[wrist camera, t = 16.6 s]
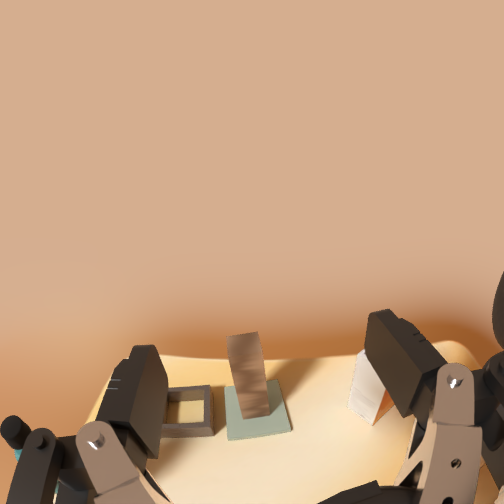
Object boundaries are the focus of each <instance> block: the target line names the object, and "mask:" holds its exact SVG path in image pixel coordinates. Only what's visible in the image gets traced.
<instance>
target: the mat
mask: <svg viewBox="0 0 504 504" xmlns="http://www.w3.org/2000/svg"><path fill="white" fill-rule="evenodd" d="M266 385H267V394H268V402H269V411H270V416H264V417H258V418H252V419H245V420H243V418H242V414H241V410H240V406H239V402H238V397H237V393H236V389H235V386H229V387H224V392H225V408H226V423H227V437H228V441H231V440H240V439H248V438H255V437H262V436H269V435H275V434H280V433H285V432H291V428H290V424H289V420H288V416H287V413H286V409H285V405H284V401H283V398H282V394H281V390H280V386H279V383H278V379H276V380H270V381H266Z"/></svg>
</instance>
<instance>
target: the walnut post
mask: <svg viewBox="0 0 504 504" xmlns="http://www.w3.org/2000/svg"><path fill="white" fill-rule="evenodd" d="M226 338H227V349H228V358H229V363H230V367H231V372H232V376H233V380H234V385H235V389H236V393H237V397H238V402H239V406H240V410H241V414H242V418H243V420H245V419H252V418H258V417H264V416H270V411H269V402H268V394H267V385H266V377H265V368H264V360H263V351H262V348H261V343H260V339H259V335H258V332H253V333H246V334H240V335H233V336H227V337H226Z"/></svg>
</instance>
